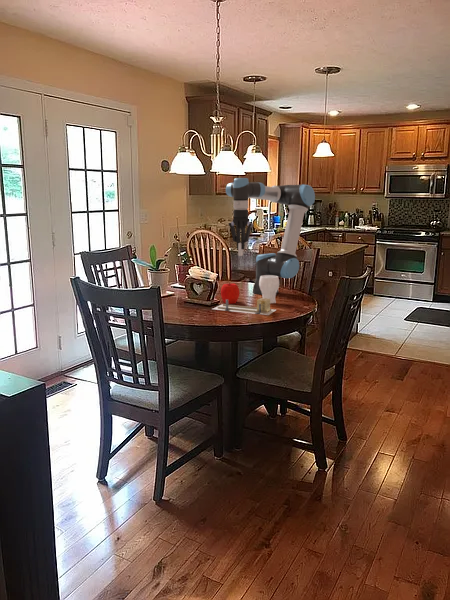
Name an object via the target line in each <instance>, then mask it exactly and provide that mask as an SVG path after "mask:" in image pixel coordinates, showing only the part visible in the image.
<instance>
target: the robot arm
mask: <svg viewBox="0 0 450 600" xmlns="http://www.w3.org/2000/svg"><path fill="white" fill-rule="evenodd" d="M249 181H250V180H249V178H247V177H235V178H234V179H233V182H230V183H227V184H226V186H225V194H226V195H227V196H228V197H231V198H233V212H232V213H233V216H232V217H233V219H232V221H230V222H229V223H228V226H229V228H230V231H231V232H230V233H231V237H232V241H233V242H235V244H236V249H237V250H238V251H237V252H238V254H237V255H238V257H242V256H244V250H245V247H246V246H245V244H246V243H247V242H249V239H250V236H251V230H252V228H253V226H254V223H252V222H250V220H249V210H248V209H249V199H254V200H264V201H269V202H271V203H276V204H279V205H280V204H281V205H285V206H288V209H289V211H288V217H287V220H286V225H285V228H284V234H283V239H282V242H281V247H280V250H279V251H277V252H276V253H274V252H272V253H262V254H257V255H256V258H255V259H256V260H255V281H254V284H253V287H252V293H254V294H256V295H262V292H261V290H260V287H259V280H260V276H264V275H274V276H278V278H283V279H293V278H294V277H295V276H296V275H297V274H298V272H299V270H300V262H299V261H300V260H299V259H298V255H297V254H296V252H297V247H298V242H299V238H300V234H301V230H302V226H303V222H304V221H303V220H304V216H305V213H306V212H308V211H309V207H310V206H312V205H314V203H315V200H316V195H315V193H316V192H315V191H314V188H313V187H312V186H311V185H309V184H305V183H302V184H283V185H272V186H268V185H265V184H264V183H263V182H259V181H252V182H251V181H250V182H249ZM246 227H247V228H246ZM277 294H279V289H278V290H277V292H276V295H277Z"/></svg>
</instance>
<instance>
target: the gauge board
mask: <svg viewBox="0 0 450 600" xmlns="http://www.w3.org/2000/svg"><path fill="white" fill-rule="evenodd" d="M212 310H214V311H215V310H217V311H225V312H232V313H233V312H235V313H246V314H253V315H254V314H255V315H264V316H270V315H271V314H273V313H274V312H276V311H277V309H272V308H270V311H269V312H268V313H267V312H266V311H261V313H259V311H257V306H255V307H253V306H246V305H245V306H244V305H238V304H237V305H235V304H228V300H226V303H223V304H219V305H217V306H216V307H214V308H213V307H212Z"/></svg>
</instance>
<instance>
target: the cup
mask: <svg viewBox="0 0 450 600" xmlns="http://www.w3.org/2000/svg"><path fill="white" fill-rule="evenodd" d="M279 278H280V277H278V276H274V275H264V276H260V280H259V287H260V290H261V292H262V294H261V295H262V296H261V298H266V299H270V304H276V303H277V301H276V296H277V294H276V292H277V290H278V291H279V287H280V279H279Z"/></svg>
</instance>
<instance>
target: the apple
mask: <svg viewBox="0 0 450 600" xmlns="http://www.w3.org/2000/svg"><path fill="white" fill-rule="evenodd" d="M220 297H221V299H222V302H223V304H226V300H228V305H235V304H236V303H237V301H238V300H239V297H240V287H239V286H238V284H236V283H231V282H228V283H224V284H222V286H221V289H220Z"/></svg>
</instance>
